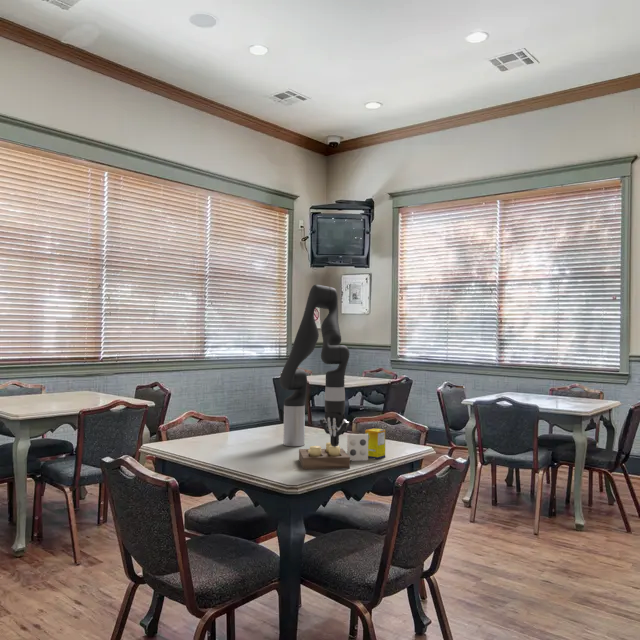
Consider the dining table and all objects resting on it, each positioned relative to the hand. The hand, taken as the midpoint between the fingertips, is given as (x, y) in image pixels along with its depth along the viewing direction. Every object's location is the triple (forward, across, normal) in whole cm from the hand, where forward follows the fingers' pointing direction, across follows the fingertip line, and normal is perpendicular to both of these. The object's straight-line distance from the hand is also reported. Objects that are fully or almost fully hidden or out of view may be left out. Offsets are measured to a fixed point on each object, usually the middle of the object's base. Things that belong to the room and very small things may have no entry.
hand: (334, 445), depth 224 cm
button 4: (+4, 0, 0) cm, 4 cm away
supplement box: (+8, -3, -23) cm, 24 cm away
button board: (+7, +5, 0) cm, 9 cm away
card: (+7, -1, -14) cm, 16 cm away
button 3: (+3, +5, -5) cm, 8 cm away
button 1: (+6, +10, 0) cm, 12 cm away
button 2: (+3, +5, +5) cm, 8 cm away
